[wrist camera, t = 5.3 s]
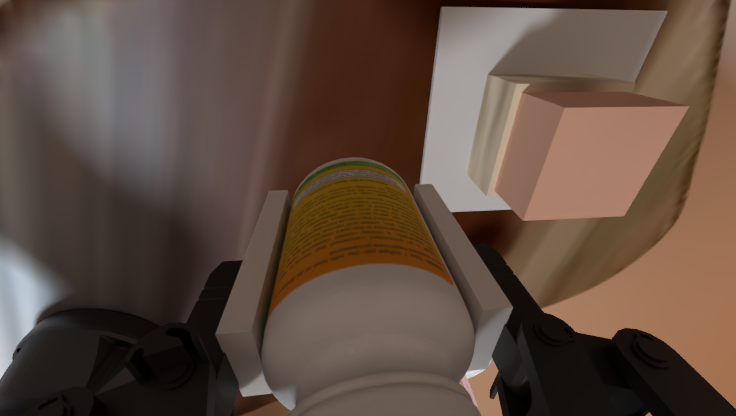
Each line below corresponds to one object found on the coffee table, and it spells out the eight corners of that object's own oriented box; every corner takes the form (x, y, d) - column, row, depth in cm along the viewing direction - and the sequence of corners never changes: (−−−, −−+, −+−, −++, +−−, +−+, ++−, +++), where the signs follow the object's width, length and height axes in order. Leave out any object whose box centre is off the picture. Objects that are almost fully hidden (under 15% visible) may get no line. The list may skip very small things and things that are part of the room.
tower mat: (416, 211, 27) (417, 213, 27) (440, 7, 19) (442, 6, 18) (572, 204, 29) (575, 206, 28) (662, 11, 20) (668, 10, 20)
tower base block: (466, 173, 25) (486, 196, 22) (487, 74, 21) (516, 83, 18) (551, 171, 26) (583, 192, 22) (589, 74, 22) (636, 83, 18)
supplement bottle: (265, 190, 12) (129, 537, 4) (381, 130, 11) (520, 407, 3) (330, 270, 15) (332, 569, 7) (426, 226, 14) (563, 506, 6)
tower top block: (494, 190, 22) (523, 220, 18) (521, 92, 18) (564, 107, 14) (580, 187, 22) (624, 216, 19) (624, 91, 18) (689, 106, 15)
